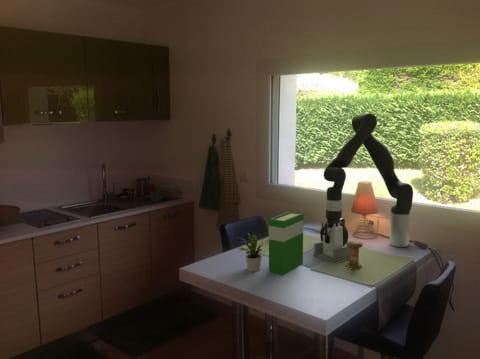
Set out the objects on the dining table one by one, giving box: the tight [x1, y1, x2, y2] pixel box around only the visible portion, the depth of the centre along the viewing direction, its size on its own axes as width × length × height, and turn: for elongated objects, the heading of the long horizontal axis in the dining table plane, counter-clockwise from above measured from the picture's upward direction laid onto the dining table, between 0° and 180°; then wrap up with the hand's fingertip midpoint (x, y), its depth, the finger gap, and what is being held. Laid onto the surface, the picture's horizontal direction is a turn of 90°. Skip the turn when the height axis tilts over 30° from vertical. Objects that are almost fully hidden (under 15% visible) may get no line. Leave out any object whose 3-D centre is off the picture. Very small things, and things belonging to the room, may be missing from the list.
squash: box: [319, 226, 349, 246], centre depth 226 cm, size 14×15×15 cm
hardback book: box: [268, 210, 304, 277], centre depth 192 cm, size 18×7×24 cm, turn 144°
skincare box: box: [323, 226, 344, 258], centre depth 207 cm, size 8×6×15 cm
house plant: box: [238, 233, 266, 272], centre depth 192 cm, size 14×14×16 cm
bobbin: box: [345, 240, 364, 270], centre depth 194 cm, size 7×7×11 cm
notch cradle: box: [313, 240, 350, 264], centre depth 208 cm, size 12×14×6 cm
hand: (333, 241), depth 207 cm, fingers open, 8 cm apart
